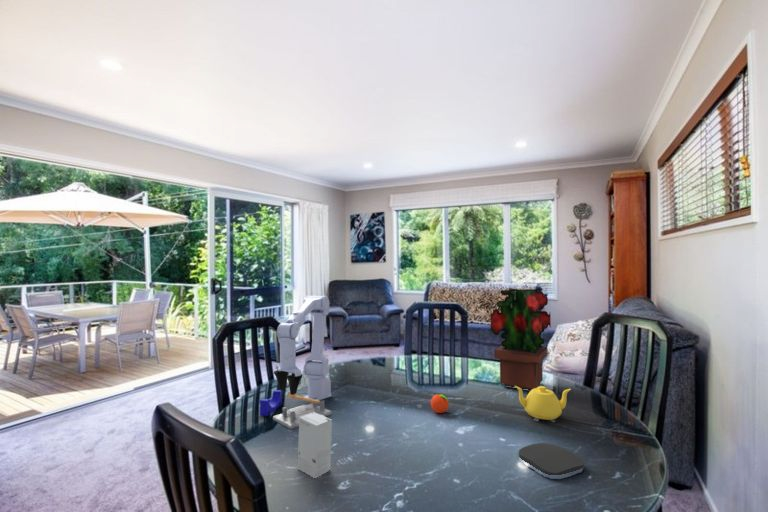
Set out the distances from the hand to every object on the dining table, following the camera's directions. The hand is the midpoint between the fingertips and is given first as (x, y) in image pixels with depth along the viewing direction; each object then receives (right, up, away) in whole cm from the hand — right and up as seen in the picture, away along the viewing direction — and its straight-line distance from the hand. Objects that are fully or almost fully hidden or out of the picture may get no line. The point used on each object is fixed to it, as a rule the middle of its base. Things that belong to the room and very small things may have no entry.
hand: (287, 391), depth 144 cm
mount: (+5, -10, +2) cm, 12 cm away
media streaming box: (+84, -10, -33) cm, 91 cm away
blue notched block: (-10, -11, +9) cm, 17 cm away
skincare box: (+16, -10, -35) cm, 40 cm away
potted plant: (+100, -10, +36) cm, 107 cm away
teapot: (+96, -10, +1) cm, 96 cm away
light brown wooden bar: (+6, -5, +3) cm, 8 cm away
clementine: (+58, -10, +5) cm, 59 cm away
